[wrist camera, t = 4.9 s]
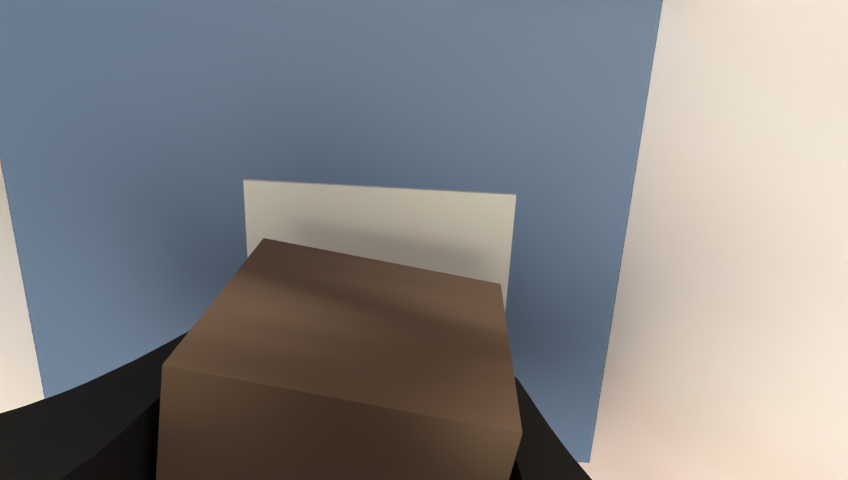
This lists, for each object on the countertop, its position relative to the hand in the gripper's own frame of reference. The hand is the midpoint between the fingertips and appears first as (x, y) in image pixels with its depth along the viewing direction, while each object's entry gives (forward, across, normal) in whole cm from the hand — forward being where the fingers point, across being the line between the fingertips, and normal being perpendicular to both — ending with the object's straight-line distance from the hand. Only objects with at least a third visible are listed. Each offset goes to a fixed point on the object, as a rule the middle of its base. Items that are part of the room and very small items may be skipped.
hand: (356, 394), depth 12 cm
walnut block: (+1, 0, 0) cm, 1 cm away
